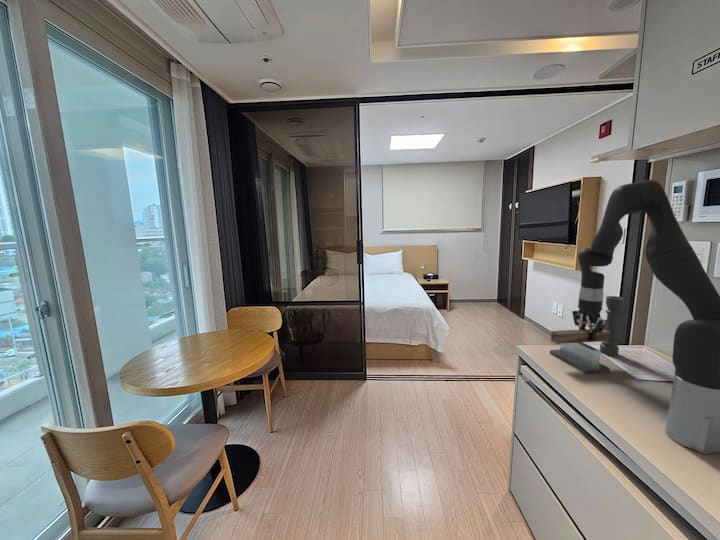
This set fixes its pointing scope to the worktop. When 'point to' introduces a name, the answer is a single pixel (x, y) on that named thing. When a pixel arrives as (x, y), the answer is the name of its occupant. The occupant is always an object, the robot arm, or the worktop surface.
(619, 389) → the worktop surface
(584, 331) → the walnut beam
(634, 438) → the worktop surface
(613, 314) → the candle holder
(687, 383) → the robot arm
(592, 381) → the worktop surface
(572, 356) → the stand
